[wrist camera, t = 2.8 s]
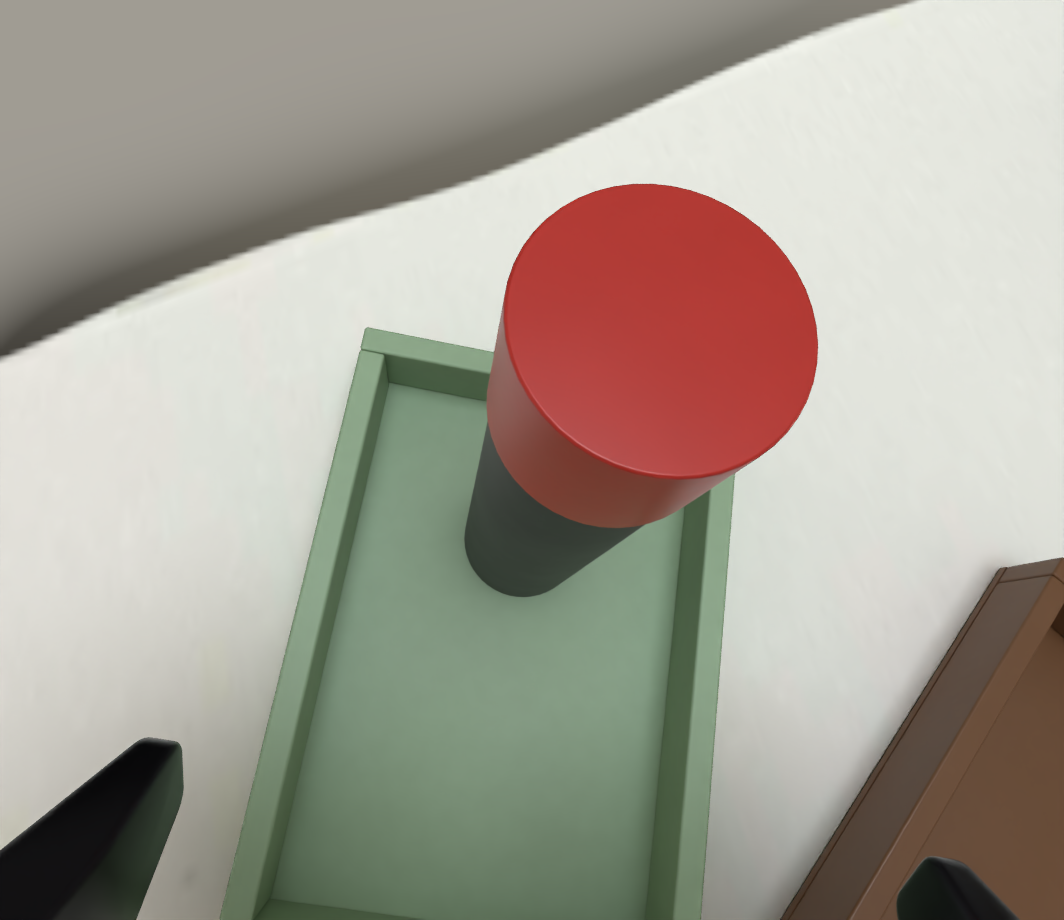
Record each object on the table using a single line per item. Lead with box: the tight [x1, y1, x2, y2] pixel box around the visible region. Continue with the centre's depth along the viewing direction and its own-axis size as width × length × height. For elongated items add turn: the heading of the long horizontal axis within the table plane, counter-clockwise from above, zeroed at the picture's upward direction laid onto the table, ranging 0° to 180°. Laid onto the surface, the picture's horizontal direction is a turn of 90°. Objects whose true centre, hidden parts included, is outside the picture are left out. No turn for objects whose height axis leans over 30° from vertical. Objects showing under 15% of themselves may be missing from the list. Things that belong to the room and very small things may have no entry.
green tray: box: [220, 327, 735, 920], centre depth 20 cm, size 15×11×2 cm
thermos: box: [464, 184, 818, 597], centre depth 15 cm, size 4×4×14 cm
